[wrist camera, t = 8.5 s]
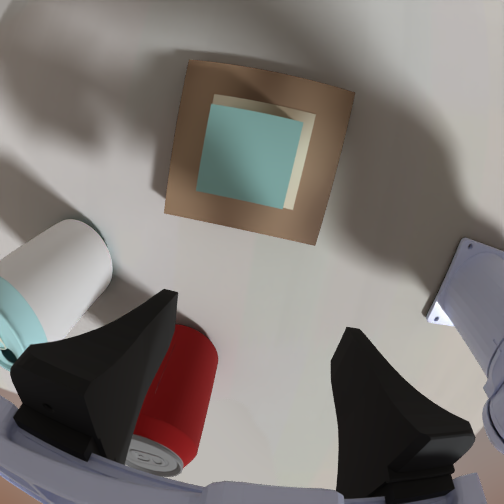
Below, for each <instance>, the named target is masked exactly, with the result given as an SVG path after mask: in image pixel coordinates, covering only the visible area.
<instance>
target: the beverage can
mask: <svg viewBox="0 0 504 504" xmlns="http://www.w3.org/2000/svg"><path fill="white" fill-rule="evenodd" d="M217 364H218V354H217V351H216V349H215V347H214V345H213V344H212V342H211V341H210V340H209V339H208V338H207V337H206V336H204V335H203V334H202V333H200V332H199V331H197V330H195V329H193V328H190V327H187V326H184V325H178V324H175V331H174V334H173V337H172V340H171V343H170V346H169V349H168V351H167V353H166V355H165V357H164V359H163V361H162V363H161V365H160V367H159V369H158V371H157V373H156V375H155V377H154V379H153V381H152V383H151V385H150V387H149V389H148V391H147V394H146V396H145V399H144V402H143V405H142V408H141V410H140V413H139V416H138V420H137V423H136V426H135V429H134V432H133V436H132V439H131V443H130V446H129V450H128V454H127V457H126V461H125V465H127V466H129V467H132V468H135V469H138V470H141V471H144V472H147V473H150V474H154V475H157V476H161V477H173V476H177V475H178V474H180V473H181V472H182V470H183V468H184V467H185V466H186V465H187V464H189V463H190V462H191V461H192V460H193V459H194V458H195V456H196V455H197V451H198V447H199V443H200V439H201V435H202V431H203V427H204V422H205V418H206V414H207V410H208V405H209V401H210V396H211V392H212V388H213V383H214V378H215V374H216V369H217Z"/></svg>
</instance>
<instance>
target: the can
mask: <svg viewBox="0 0 504 504" xmlns="http://www.w3.org/2000/svg"><path fill="white" fill-rule="evenodd" d="M112 270H113V268H112V260H111V256H110V253H109V250H108V248H107V246H106V244H105V243H104V241H103V239H102V238H101V237H100V235H99V234H98V233H97V232H96V231H95V230H94V229H93V228H91V227H90V226H89V225H87V224H85V223H83V222H81V221H78V220H74V219H67V220H63V221H61V222H59V223H57V224H55V225H54V226H52V227H50V228H49V229H47V230H45V231H44V232H42V233H41V234H39V235H38V236H36V237H34V238H33V239H31V240H30V241H28V242H27V243H25V244H24V245H22V246H20V247H19V248H17V249H16V250H14V251H13V252H12V253H10V254H9V255H7V256H6V257H4V258H3V259H1V260H0V366H1V367H3V368H4V369H6V370H8V371H10V369H11V367H12V365H13V364H14V363H15V362H16V360H17V359H18V358H19V357H20V356H21V354H22V353H23V352H24V351H25V350H26V349H27V348H28V346H29V345H30V344H39V343H46V342H53V341H58V340H63V339H64V338H65V336H66V335H67V334H68V333H69V331H70V330H71V329H72V328H73V327H74V325H75V324H76V323H77V322H78V321H79V319H80V318H81V317H82V316H83V315H84V313H85V312H86V311H87V310H88V309H89V308H90V306H91V305H92V304H93V303H94V302H95V301H96V299H97V298H98V297H99V296H100V295H101V294H102V292H103V291H104V290H105V289H106V288H107V287H108V285H109V283H110V281H111V278H112Z"/></svg>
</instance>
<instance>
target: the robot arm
mask: <svg viewBox="0 0 504 504" xmlns="http://www.w3.org/2000/svg"><path fill="white" fill-rule="evenodd" d="M470 243H471V245H470V247H468V245H469V244H470ZM177 299H178V292H175V291H170V290H166V289H163V290H162V291H160V292H159V293H157V294H156V295H154V296H153V297H152V298H150V299H149V300H147V301H146V302H145V303H143V304H142V305H140V306H139V307H137V308H135V309H134V310H132V311H131V312H129V313H128V314H126V315H124V316H122V317H121V318H119V319H117V320H115V321H113V322H111V323H109V324H107V325H105V326H103V327H100V328H98V329H96V330H93V331H90V332H87V333H84V334H81V335H78V336H75V337H71V338H67V339H63V340H58V341H53V342H46V343H39V344H30V345H29V346H28V348H27V349H26V350H25V351H24V352H23V353H22V354H21V356H20V357H19V358H18V359H17V360H16V362H15V363H14V364H13V365H12V367H11V369H10V375H11V379H12V382H13V384H14V386H15V388H16V391H17V393H18V395H19V397H20V399H21V401H22V403H23V404H22V405H21V406H20V408H19V409H18V408H17V407H16V406H15V405H14V404H13V403H11V402H10V401H8V400H7V399H5V398H4V397H2V396H0V476H2V477H3V478H5V479H6V480H7V481H9V482H10V483H12V484H13V485H15V486H16V487H18V488H19V489H21V490H22V491H24V492H25V493H27V494H28V495H30V496H32V497H33V498H35V499H37V500H38V501H40V502H42V503H43V504H487V502H486V499H485V496H484V492H483V489H482V486H481V483H480V480H479V477H478V474H477V473H471V474H467V475H463V476H460V477H457V478H455V479H453V480H452V477H451V474H452V473H454V471H455V469H454V466H453V464H454V463H455V462H456V461H457V460H459V458H461V457H462V456H463V455H464V454H465V453H466V452H467V451H468V450H469V449H470V448H471V447H472V445H473V443H474V442H475V435H474V433H473V430H472V428H471V425H470V423H469V422H468V421H466V420H464V419H462V418H460V417H458V416H456V415H454V414H452V413H450V412H448V411H446V410H445V409H443V408H441V407H440V406H438V405H436V404H435V403H433V402H432V401H431V400H429V399H428V398H426V397H425V396H424V395H422V394H421V393H420V392H419V391H417V390H416V389H415V388H414V387H413V386H411V385H410V384H409V383H408V382H407V381H406V380H405V379H404V378H403V377H402V376H401V375H400V374H399V373H398V372H397V371H396V370H395V369H394V368H393V367H392V366H391V365H390V364H389V363H388V361H387V360H386V359H385V358H384V357H383V356H382V354H381V353H380V352H379V351H378V350H377V349H376V347H375V346H374V345H373V344H372V342H371V341H370V340H369V339H368V338H367V337H366V335H365V334H364V333H363V332H362V331H361V330H360V329H357V328H351V327H346V330H345V332H344V334H343V336H342V338H341V341H340V343H339V345H338V347H337V349H336V351H335V353H334V355H333V357H332V359H331V384H332V390H333V397H334V403H335V409H336V415H337V422H338V437H339V454H338V475H337V486H336V491H335V490H330V489H322V488H296V487H282V486H271V485H262V484H253V483H246V482H233V481H222V482H215V483H211V484H209V485H208V486H206V487H202V486H197V485H193V484H188V483H184V482H180V481H175V480H172V479H168V478H164V477H161V476H157V475H154V474H150V473H147V472H144V471H141V470H138V469H135V468H132V467H129V466H126V465H125V461H126V457H127V454H128V450H129V446H130V443H131V439H132V436H133V432H134V429H135V426H136V423H137V420H138V416H139V413H140V410H141V408H142V405H143V402H144V399H145V396H146V394H147V391H148V389H149V387H150V385H151V383H152V381H153V379H154V377H155V375H156V373H157V371H158V369H159V367H160V365H161V363H162V361H163V359H164V357H165V355H166V353H167V351H168V349H169V346H170V343H171V340H172V337H173V334H174V331H175V322H176V310H177ZM435 317H437V318H435ZM434 318H435V319H434ZM426 319H427V321H428V322H429V323H435V324H442V325H448V326H455V328H456V329H457V330H458V332H459V333H460V335H461V336H462V338H463V340H464V341H465V343H466V344H467V346H468V347H469V349H470V350H471V352H472V354H473V355H474V357H475V358H476V360H477V362H478V363H479V365H480V366H481V368H482V370H483V371H484V373H485V375H486V376H487V378H488V380H487V382H486V384H485V385H484V387H483V389H484V391H485V393H486V394H487V396H488V398H489V399H488V400H487V401H486V403H485V405H484V407H483V412H482V417H483V424H484V428H485V431H486V434H487V436H488V438H489V440H490V442H491V443H492V444H493V446H494V447H495V448H496V449H497V450H498V451H499V452H501V453H502V454H504V251H502V250H499V249H496V248H494V247H491V246H488V245H485V244H483V243H480V242H477V241H474V240H472V239H469V238H463V239H462V240H461V241H460V243H459V246H458V248H457V251H456V253H455V256H454V258H453V261H452V263H451V265H450V268H449V270H448V272H447V274H446V277H445V279H444V281H443V283H442V285H441V287H440V290H439V292H438V294H437V296H436V298H435V300H434V302H433V304H432V306H431V308H430V310H429V312H428V314H427V316H426Z"/></svg>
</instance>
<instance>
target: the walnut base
mask: <svg viewBox="0 0 504 504" xmlns="http://www.w3.org/2000/svg"><path fill="white" fill-rule="evenodd" d="M354 96H355V92H351V91H348V90H345V89H342V88H338V87H335V86H331V85H328V84H324V83H320V82H316V81H312V80H308V79H304V78H300V77H296V76H292V75H287V74H282V73H278V72H273V71H268V70H262V69H257V68H251V67H245V66H239V65H232V64H225V63H217V62H209V61H199V60H189V62H188V67H187V71H186V76H185V81H184V86H183V91H182V96H181V101H180V106H179V112H178V118H177V123H176V129H175V135H174V142H173V148H172V155H171V162H170V169H169V176H168V184H167V192H166V200H165V209H164V213H165V214H170V215H175V216H180V217H185V218H190V219H194V220H199V221H204V222H209V223H214V224H218V225H223V226H228V227H232V228H237V229H242V230H246V231H251V232H256V233H260V234H265V235H269V236H274V237H278V238H283V239H287V240H292V241H296V242H301V243H305V244H310V245H314V246H315V245H316V241H317V238H318V235H319V231H320V228H321V224H322V221H323V217H324V214H325V210H326V207H327V203H328V200H329V196H330V192H331V189H332V185H333V181H334V178H335V174H336V170H337V166H338V162H339V159H340V155H341V151H342V147H343V143H344V139H345V135H346V131H347V126H348V122H349V118H350V114H351V109H352V105H353V101H354ZM211 104H215V105H222V106H228V107H234V108H239V109H245V110H250V111H255V112H260V113H265V114H270V115H274V116H279V117H283V118H288V119H292V120H296V121H300V122H304V123H303V127H302V131H301V135H300V140H299V144H298V148H297V152H296V156H295V161H294V165H293V169H292V173H291V177H290V181H289V185H288V189H287V194H286V198H285V202H284V206H283V209H279V208H274V207H270V206H265V205H261V204H256V203H252V202H247V201H243V200H238V199H233V198H228V197H224V196H219V195H214V194H209V193H204V192H199V191H196V186H197V180H198V174H199V168H200V162H201V156H202V150H203V145H204V139H205V134H206V129H207V123H208V118H209V113H210V108H211Z"/></svg>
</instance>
